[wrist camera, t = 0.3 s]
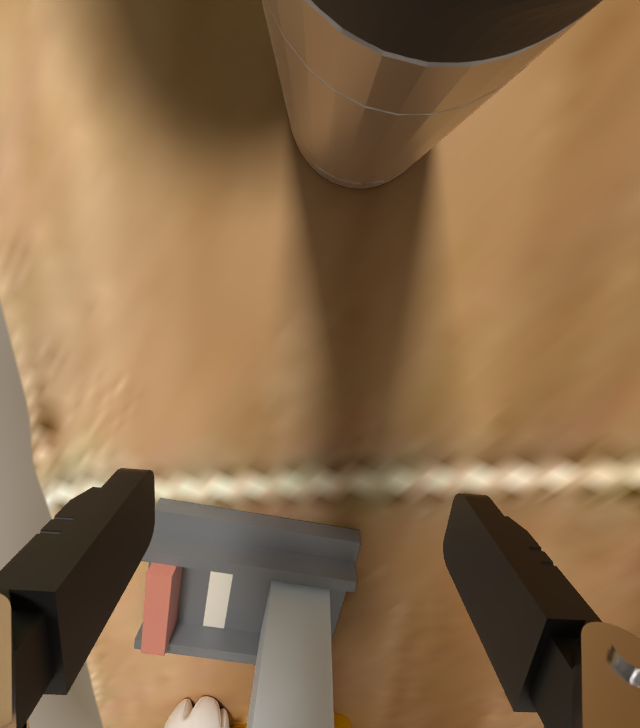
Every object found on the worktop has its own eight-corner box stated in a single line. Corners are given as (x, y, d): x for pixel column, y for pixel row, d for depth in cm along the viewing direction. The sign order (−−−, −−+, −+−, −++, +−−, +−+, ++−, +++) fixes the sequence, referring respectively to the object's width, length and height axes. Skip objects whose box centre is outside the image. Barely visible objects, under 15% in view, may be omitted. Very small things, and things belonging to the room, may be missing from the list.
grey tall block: (272, 565, 32) (238, 800, 18) (331, 574, 32) (341, 811, 19) (258, 632, 34) (219, 881, 21) (313, 639, 35) (310, 889, 21)
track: (160, 498, 32) (135, 537, 27) (359, 530, 33) (365, 572, 29) (150, 626, 36) (127, 677, 32) (323, 650, 38) (324, 702, 33)
